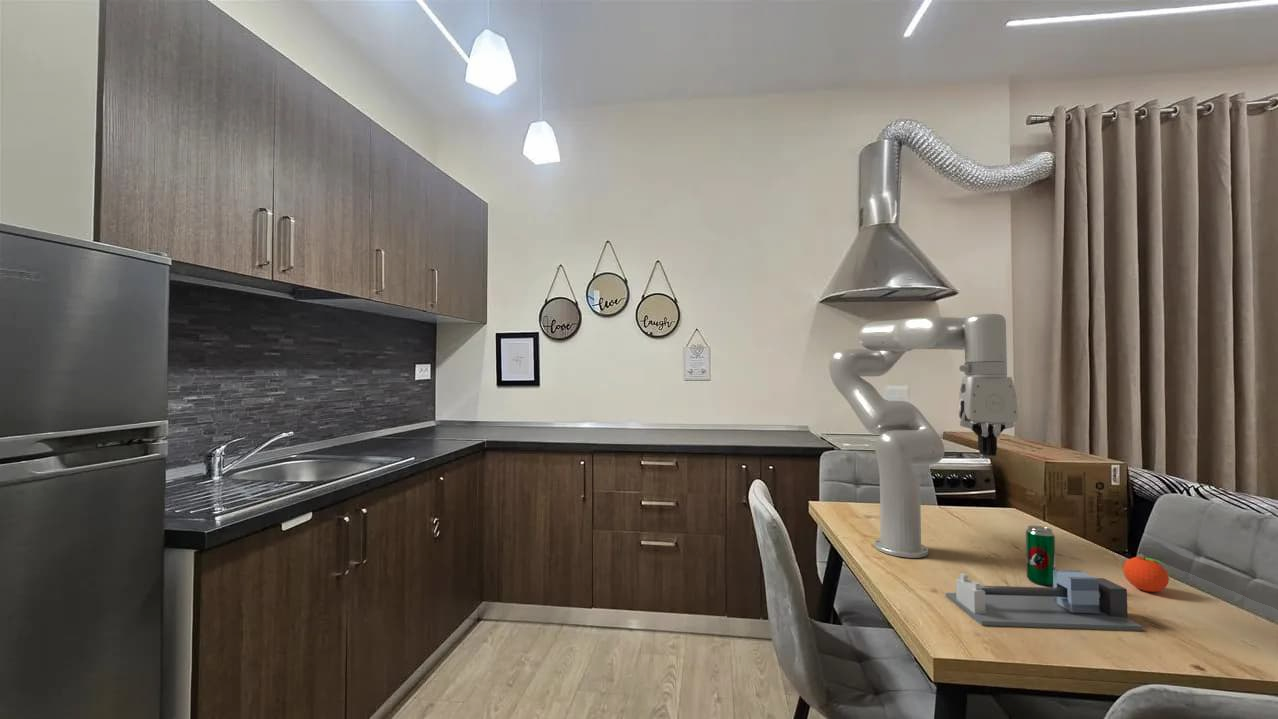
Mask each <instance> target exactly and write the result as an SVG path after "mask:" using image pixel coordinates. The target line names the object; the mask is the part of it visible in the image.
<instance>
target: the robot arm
mask: <svg viewBox="0 0 1278 719" xmlns="http://www.w3.org/2000/svg"><path fill="white" fill-rule="evenodd" d="M1006 321H1007V320H1006V318H1005V316H1004V315H1002V314H999V313H998V314H997V313H980V314H979V313H978V314H973V315H972V314H971V315H969V316H967V317H966V318H965V317H949V316H927V317H926V316H924V317H923V316H922V317H913V318H912V317H911V318H901V319H891V320H890V319H889V320H888V319H887V320H876V321H871V322H868V323H866V324H865V325H863V326H861V328H860V329H859V331H858V337H857V338H858V341H859V343H860V344H861V346H862V347H863V348H855V347H854V348H845V349H844V348H843V349H841V350H838V351H836V352H834V353H833V354H832V355H831V357H830V359H829V363H828V364H829V367H828V368H829V376H830V379H831V381H832V383H833V385H834V386H835V388H836V389H837V391H838V392H839V393H840V394H841V395H842V397H843V398H844V399H845V400H846V401H847V402H848V404H849V406H850V408H851V409H852V410H853V412H854V414H855V415H856V416H857V418H858V419H859V420H860V421H859V422H861V424H862V425H863V426H864V428H865V429H866V431H868V432H869V433H871V434H873V435H879V436H878V437H877V438H876V441H875V444H874V449H875V456H876V460H877V465H878V471H879V474H878V475H879V494H880V495H879V501H880V502H879V504H880V505H879V506H880V507H879V509H880V514H879V515H880V516H879V517H880V529H879V530H880V538H877V539H875V541H874V548H876V550H878V551H880V552H882V553H884V554H887V555H890V556H894V557H900V558H906V559H907V558H910V559H913V558H914V559H918V558H924V557H926V556H928V555H929V549H928V547H927V546H925V545H924V544H922V521H921V520H922V519H921V518H922V515H921V514H922V513H921V512H922V511H921V508H922V507H921V505H922V504H921V485H920V484H921V483H920V479H919V477H918V475H917V474H916V472H915V470H914V468H913V467H915V466H930V465H935V464H938V463H940V462H941V461H942V460H943V458H944V456H945V445H944V442H943V439H942V437H941V436H940V435H939V433H938V432H937V430H936V429H934V427H933V426H932V424H931V423H930V422H929V421H928V419H926V417H925V416H924V415H923V413H922V412H921V411H920V409H919V408H917V407H916V406H915V405H913V404H912V403H911V402H908V401H904V400H889V399H885V398H883V397H882V395H881V394H880V392H878V390H877V389H876V388H875V387H874V385H872V384H871V383H869V382H868V381H867V380H865V379H864V378H862V377H881V376H884V375H885V374H887V373H888V372H890V370H891V369H892V368H893V367H894V366H895V365H896V364H897V363H898V361H899V360H900V359H901V358H902V357H903V356H904V354H906V352H911V351H913V350H951V351H952V350H953V351H957V350H959V351H963V350H964V363H963V365H959V371H960V372H964V375H965V376H963V377H962V379H961V383H960V388H959V395H958V416H959V418H960V423H959V425H960V427H961V428H962V427H963V428H967V429H970V430H971V431H972V432H973V433H974V434H975V436H977V450H978V453H979V455H984V456H987V457H989V456H993V457H995V456H997V451H998V438H999V437H1000V435H1001V434H1002V432H1004V430H1008V429H1012V428H1014V427H1015V422H1017V421H1018V418H1019V411H1018V400H1017V394H1016V389H1015V384H1014V381H1013V378H1012V376H1011V377H1010V376H1008V359H1007V354H1008V353H1007V352H1008V350H1007V323H1006Z"/></svg>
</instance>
